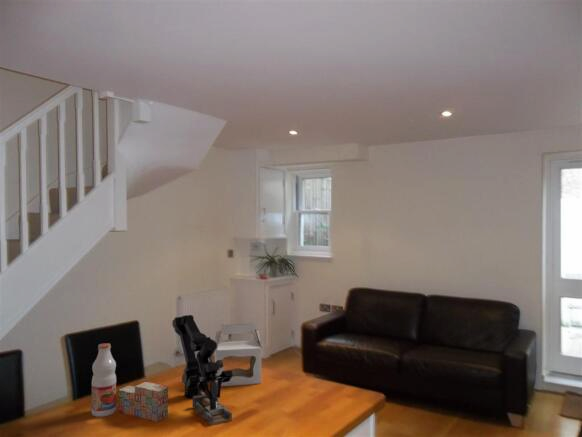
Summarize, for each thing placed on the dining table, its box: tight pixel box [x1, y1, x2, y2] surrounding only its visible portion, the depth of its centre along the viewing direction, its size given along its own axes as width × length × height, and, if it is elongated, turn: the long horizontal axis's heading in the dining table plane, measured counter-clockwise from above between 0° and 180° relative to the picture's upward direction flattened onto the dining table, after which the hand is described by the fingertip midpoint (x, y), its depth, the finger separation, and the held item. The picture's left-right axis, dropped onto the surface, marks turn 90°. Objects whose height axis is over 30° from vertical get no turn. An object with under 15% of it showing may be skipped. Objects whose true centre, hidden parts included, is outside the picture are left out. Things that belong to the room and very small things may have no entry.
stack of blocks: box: [117, 381, 169, 423], centre depth 192 cm, size 21×6×12 cm, turn 64°
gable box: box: [214, 323, 262, 387], centre depth 233 cm, size 22×13×28 cm, turn 103°
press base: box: [192, 393, 233, 426], centre depth 192 cm, size 21×9×4 cm, turn 31°
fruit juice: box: [90, 342, 117, 418], centre depth 193 cm, size 9×9×28 cm
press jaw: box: [205, 379, 223, 416], centre depth 190 cm, size 5×6×13 cm
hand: (215, 398), depth 189 cm, fingers closed on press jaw, 3 cm apart
